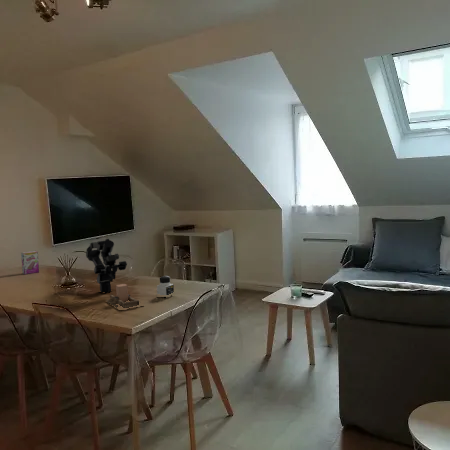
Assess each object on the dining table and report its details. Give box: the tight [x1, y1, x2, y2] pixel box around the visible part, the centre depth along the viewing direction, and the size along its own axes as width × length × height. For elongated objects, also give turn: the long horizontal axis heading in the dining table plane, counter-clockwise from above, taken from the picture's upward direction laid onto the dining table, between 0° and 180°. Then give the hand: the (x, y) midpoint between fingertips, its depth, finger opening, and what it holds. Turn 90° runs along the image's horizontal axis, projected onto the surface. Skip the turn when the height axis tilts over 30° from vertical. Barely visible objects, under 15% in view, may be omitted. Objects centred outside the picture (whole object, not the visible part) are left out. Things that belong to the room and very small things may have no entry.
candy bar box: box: [20, 250, 40, 275], centre depth 349 cm, size 11×5×16 cm, turn 130°
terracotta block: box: [115, 283, 129, 302], centre depth 258 cm, size 5×5×9 cm
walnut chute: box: [105, 293, 140, 309], centre depth 256 cm, size 24×14×4 cm, turn 32°
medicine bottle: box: [156, 275, 175, 295], centre depth 268 cm, size 7×7×12 cm
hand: (114, 278), depth 267 cm, fingers closed
